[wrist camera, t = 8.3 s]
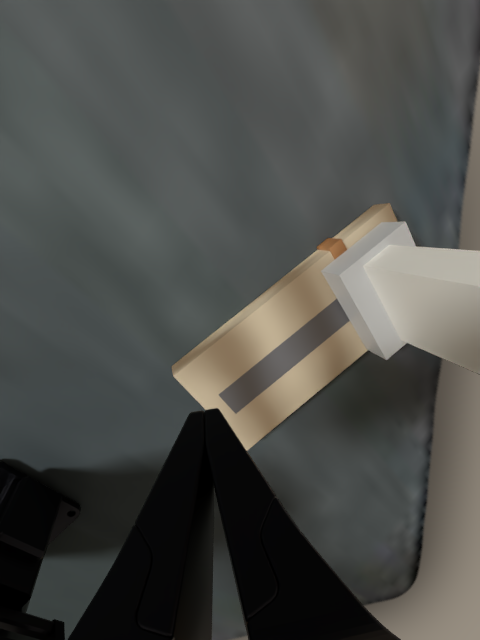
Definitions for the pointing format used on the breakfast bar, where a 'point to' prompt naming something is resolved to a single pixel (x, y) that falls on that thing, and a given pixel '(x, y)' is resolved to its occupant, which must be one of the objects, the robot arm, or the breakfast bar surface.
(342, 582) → the robot arm
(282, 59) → the breakfast bar surface
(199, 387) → the fader console
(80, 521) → the breakfast bar surface
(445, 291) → the fader tab
